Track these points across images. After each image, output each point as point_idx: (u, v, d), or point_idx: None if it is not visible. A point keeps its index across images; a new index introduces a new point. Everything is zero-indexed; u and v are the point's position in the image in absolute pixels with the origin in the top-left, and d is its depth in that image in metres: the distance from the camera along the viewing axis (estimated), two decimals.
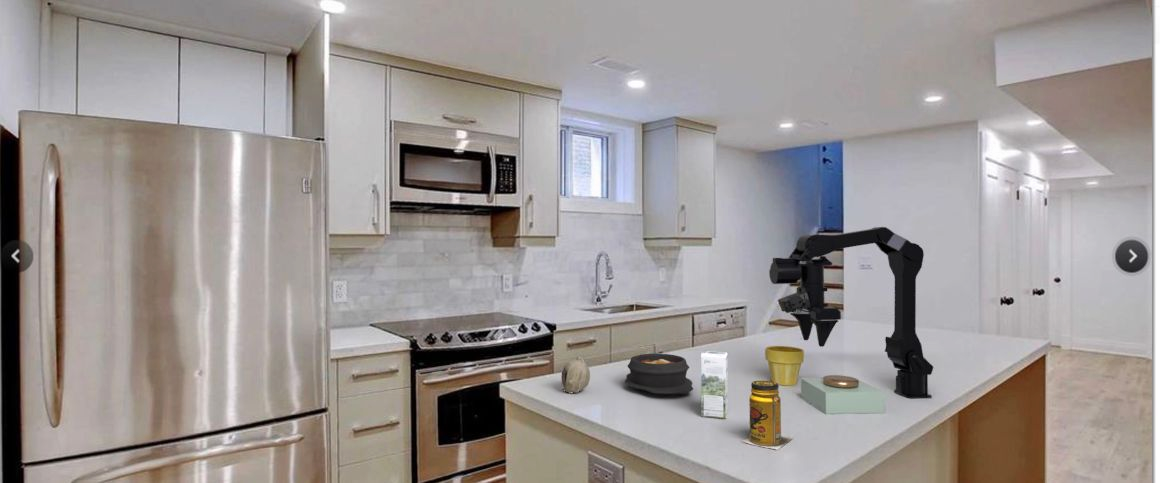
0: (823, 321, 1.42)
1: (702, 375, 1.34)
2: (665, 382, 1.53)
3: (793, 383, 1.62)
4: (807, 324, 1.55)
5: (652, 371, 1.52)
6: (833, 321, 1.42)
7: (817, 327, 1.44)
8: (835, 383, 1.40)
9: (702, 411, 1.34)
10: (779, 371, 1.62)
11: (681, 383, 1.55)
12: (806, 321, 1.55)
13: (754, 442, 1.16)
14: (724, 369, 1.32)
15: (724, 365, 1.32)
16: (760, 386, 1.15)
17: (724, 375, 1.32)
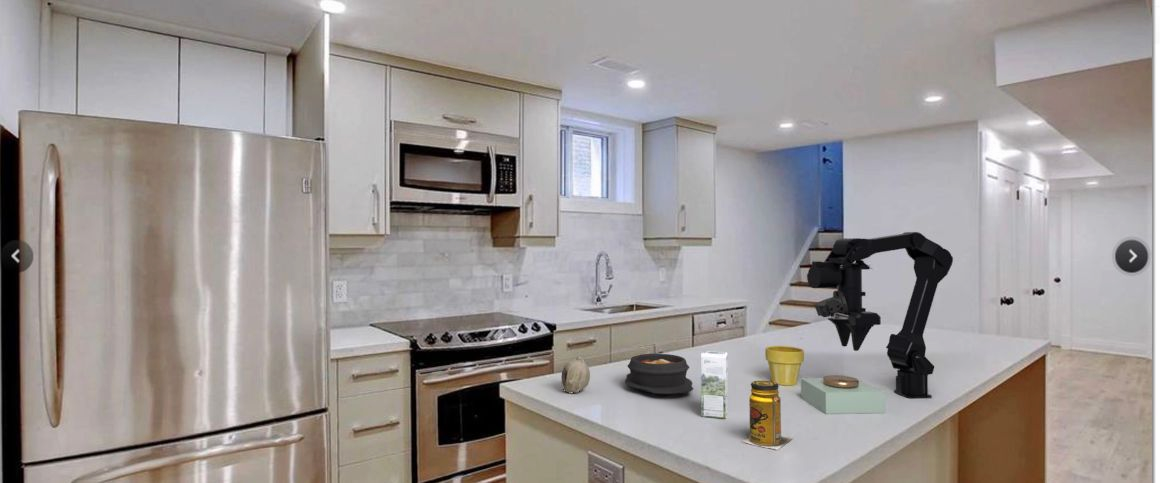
0: (859, 325, 1.41)
1: (702, 375, 1.34)
2: (665, 382, 1.53)
3: (793, 383, 1.62)
4: (846, 330, 1.51)
5: (652, 371, 1.52)
6: (869, 325, 1.42)
7: (852, 331, 1.44)
8: (835, 383, 1.40)
9: (702, 411, 1.34)
10: (779, 371, 1.62)
11: (681, 383, 1.55)
12: (845, 327, 1.51)
13: (754, 442, 1.16)
14: (724, 369, 1.32)
15: (724, 365, 1.32)
16: (760, 386, 1.15)
17: (724, 375, 1.32)
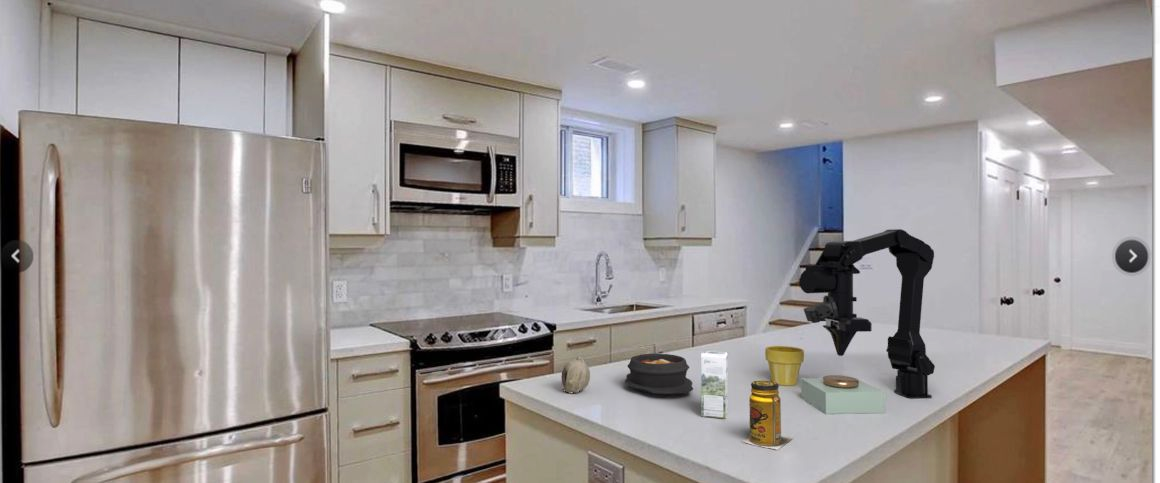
0: None
1: (702, 375, 1.34)
2: (665, 382, 1.53)
3: (793, 383, 1.62)
4: None
5: (652, 371, 1.52)
6: None
7: (837, 336, 1.41)
8: (835, 383, 1.40)
9: (702, 411, 1.34)
10: (779, 371, 1.62)
11: (681, 383, 1.55)
12: None
13: (754, 442, 1.16)
14: (724, 369, 1.32)
15: (724, 365, 1.32)
16: (760, 386, 1.15)
17: (724, 375, 1.32)
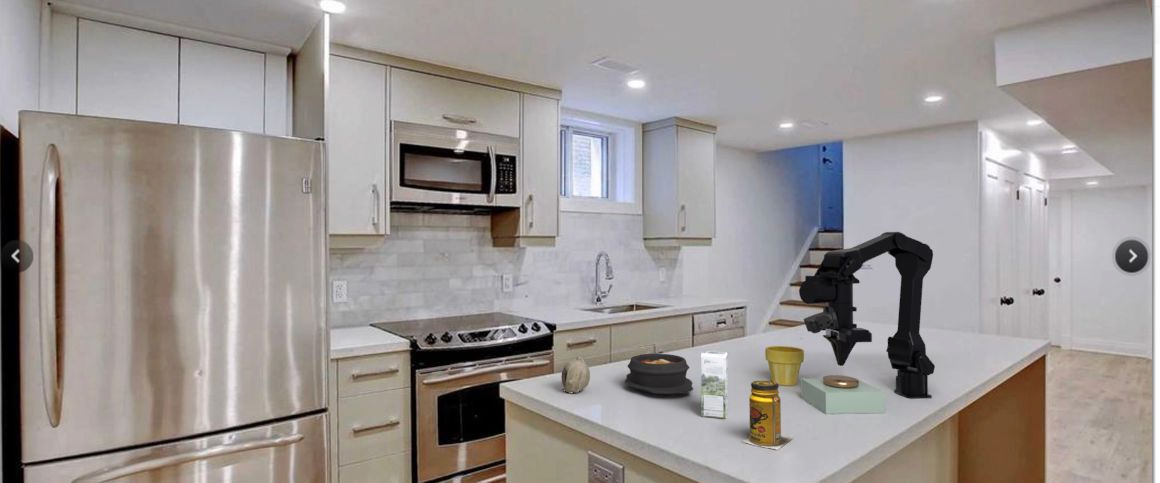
0: (844, 340, 1.39)
1: (702, 375, 1.34)
2: (665, 382, 1.53)
3: (793, 383, 1.62)
4: None
5: (652, 371, 1.52)
6: None
7: (837, 346, 1.41)
8: (835, 383, 1.40)
9: (702, 411, 1.34)
10: (779, 371, 1.62)
11: (681, 383, 1.55)
12: None
13: (754, 442, 1.16)
14: (724, 369, 1.32)
15: (724, 365, 1.32)
16: (760, 386, 1.15)
17: (724, 375, 1.32)
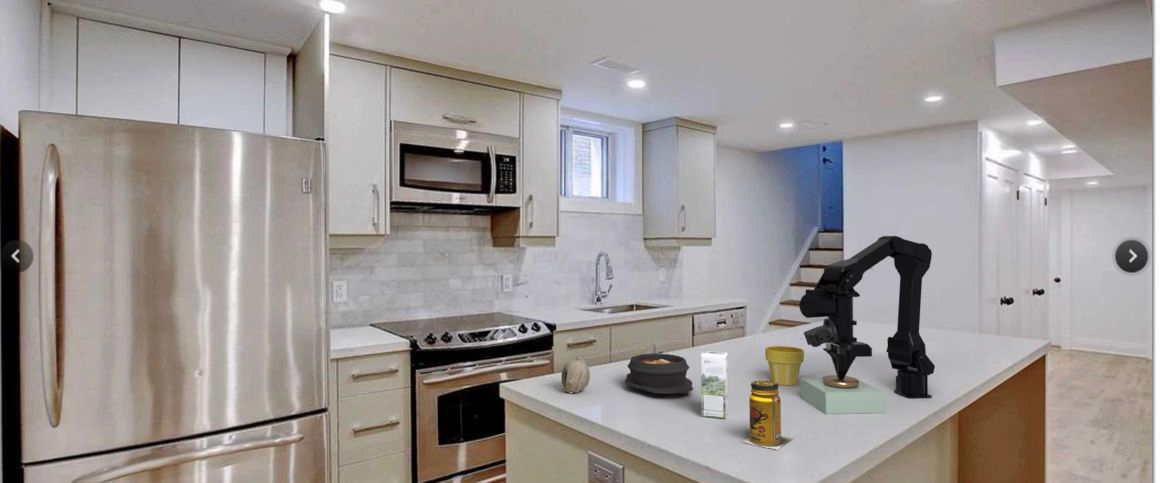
0: None
1: (702, 375, 1.34)
2: (665, 382, 1.53)
3: (793, 383, 1.62)
4: None
5: (652, 371, 1.52)
6: None
7: (837, 360, 1.41)
8: (835, 384, 1.40)
9: (702, 411, 1.34)
10: (779, 371, 1.62)
11: (681, 383, 1.55)
12: None
13: (754, 442, 1.16)
14: (724, 369, 1.32)
15: (724, 365, 1.32)
16: (760, 386, 1.15)
17: (724, 375, 1.32)
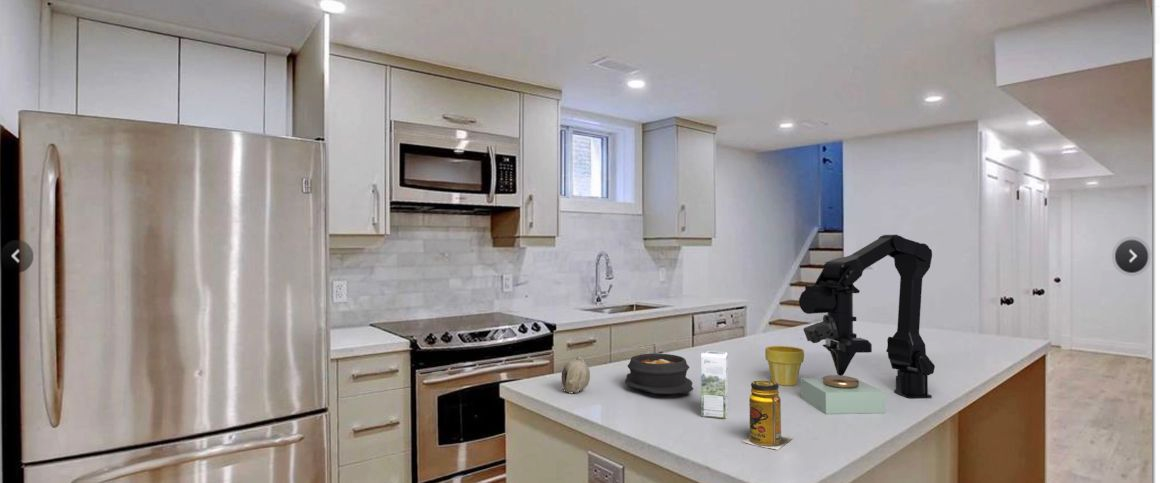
0: None
1: (702, 375, 1.34)
2: (665, 382, 1.53)
3: (793, 383, 1.62)
4: None
5: (652, 371, 1.52)
6: None
7: (837, 356, 1.41)
8: (835, 384, 1.40)
9: (702, 411, 1.34)
10: (779, 371, 1.62)
11: (681, 383, 1.55)
12: None
13: (754, 442, 1.16)
14: (724, 369, 1.32)
15: (724, 365, 1.32)
16: (760, 386, 1.15)
17: (724, 375, 1.32)
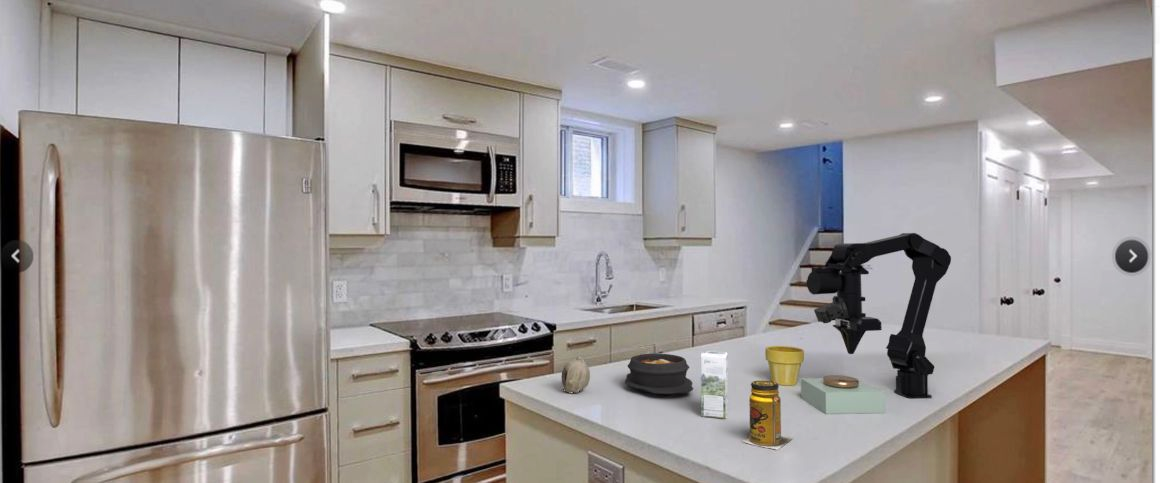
0: (854, 329, 1.44)
1: (702, 375, 1.34)
2: (665, 382, 1.53)
3: (793, 383, 1.62)
4: None
5: (652, 371, 1.52)
6: None
7: (847, 335, 1.46)
8: (835, 384, 1.40)
9: (702, 411, 1.34)
10: (779, 371, 1.62)
11: (681, 383, 1.55)
12: None
13: (754, 442, 1.16)
14: (724, 369, 1.32)
15: (724, 365, 1.32)
16: (760, 386, 1.15)
17: (724, 375, 1.32)
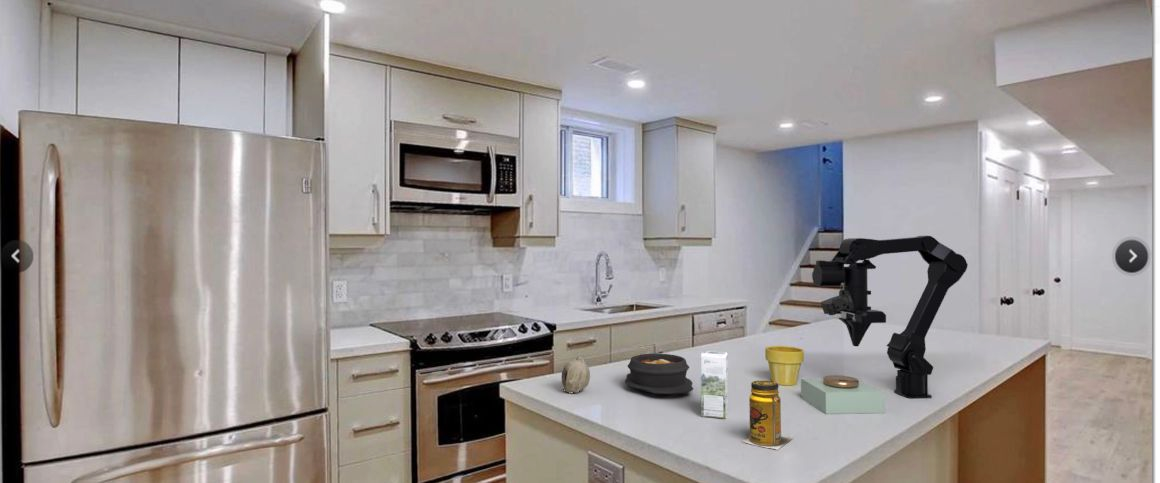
0: (859, 322, 1.47)
1: (702, 375, 1.34)
2: (665, 382, 1.53)
3: (793, 383, 1.62)
4: None
5: (652, 371, 1.52)
6: None
7: (852, 327, 1.49)
8: (835, 384, 1.40)
9: (702, 411, 1.34)
10: (779, 371, 1.62)
11: (681, 383, 1.55)
12: None
13: (754, 442, 1.16)
14: (724, 369, 1.32)
15: (724, 365, 1.32)
16: (760, 386, 1.15)
17: (724, 375, 1.32)
